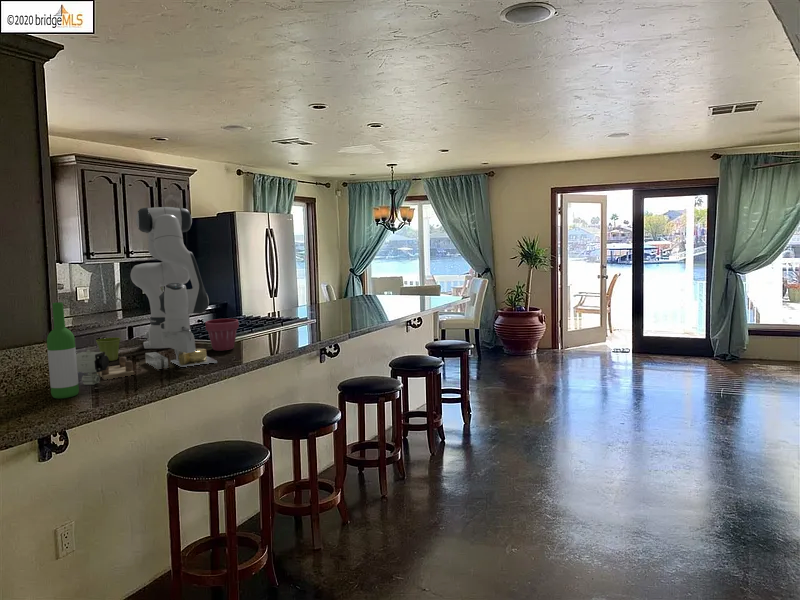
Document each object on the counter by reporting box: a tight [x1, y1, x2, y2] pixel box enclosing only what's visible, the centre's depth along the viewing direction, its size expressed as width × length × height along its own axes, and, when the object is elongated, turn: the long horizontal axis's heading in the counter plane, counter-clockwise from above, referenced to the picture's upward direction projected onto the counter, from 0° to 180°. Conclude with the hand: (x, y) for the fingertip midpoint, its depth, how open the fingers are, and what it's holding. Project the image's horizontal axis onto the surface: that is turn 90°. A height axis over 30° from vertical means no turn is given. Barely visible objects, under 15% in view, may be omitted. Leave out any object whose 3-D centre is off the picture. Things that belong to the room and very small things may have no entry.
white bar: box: [144, 351, 169, 370], centre depth 232 cm, size 18×4×4 cm, turn 36°
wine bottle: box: [46, 301, 80, 400], centre depth 187 cm, size 8×8×30 cm
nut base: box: [170, 355, 218, 368], centre depth 236 cm, size 14×14×1 cm
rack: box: [95, 356, 135, 381], centre depth 219 cm, size 16×10×5 cm, turn 36°
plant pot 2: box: [204, 318, 240, 352], centre depth 265 cm, size 14×14×13 cm
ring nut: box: [179, 348, 208, 364], centre depth 234 cm, size 14×10×4 cm
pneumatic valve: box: [76, 349, 110, 386], centre depth 203 cm, size 6×12×12 cm, turn 84°
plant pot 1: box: [95, 337, 122, 362], centre depth 246 cm, size 9×9×9 cm
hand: (179, 360), depth 230 cm, fingers closed, pressing on ring nut
